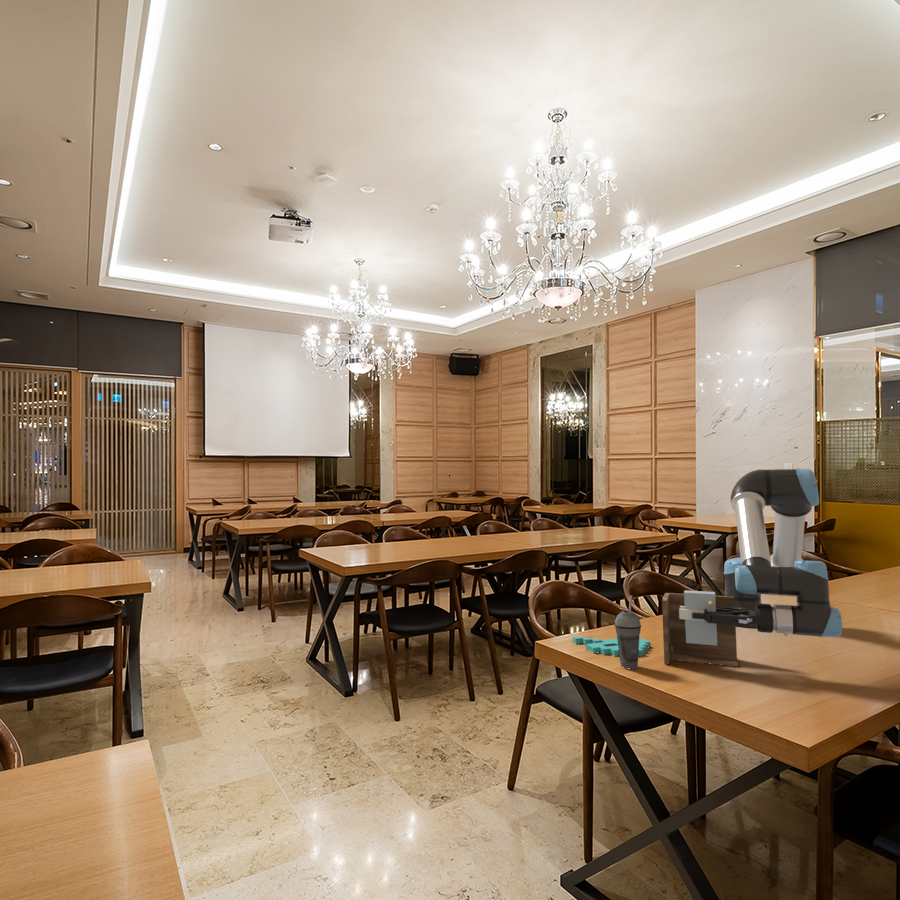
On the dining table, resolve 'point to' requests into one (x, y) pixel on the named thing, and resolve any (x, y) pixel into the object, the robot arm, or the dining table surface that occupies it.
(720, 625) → the cabinet
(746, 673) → the dining table surface
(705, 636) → the door
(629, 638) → the beverage cup
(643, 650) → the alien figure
